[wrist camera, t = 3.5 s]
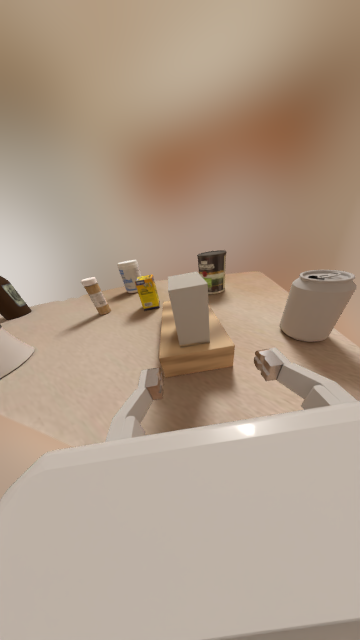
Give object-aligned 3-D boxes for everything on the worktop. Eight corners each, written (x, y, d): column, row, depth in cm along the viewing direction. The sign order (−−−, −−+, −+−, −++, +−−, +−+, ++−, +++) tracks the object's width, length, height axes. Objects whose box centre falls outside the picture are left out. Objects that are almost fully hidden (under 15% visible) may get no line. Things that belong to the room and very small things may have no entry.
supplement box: (160, 307, 48) (152, 277, 42) (143, 311, 48) (133, 281, 42) (159, 301, 53) (152, 274, 47) (145, 304, 53) (136, 277, 47)
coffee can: (217, 296, 49) (216, 254, 42) (195, 292, 56) (191, 256, 48) (229, 286, 55) (231, 249, 47) (208, 284, 61) (207, 251, 54)
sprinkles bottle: (109, 308, 55) (93, 276, 48) (112, 311, 52) (95, 277, 45) (98, 313, 53) (79, 279, 46) (100, 316, 49) (80, 281, 42)
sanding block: (209, 342, 22) (207, 283, 16) (180, 347, 22) (168, 290, 16) (200, 320, 28) (196, 271, 22) (177, 324, 28) (167, 276, 22)
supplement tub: (124, 294, 68) (112, 264, 61) (132, 288, 76) (122, 261, 69) (141, 292, 66) (131, 262, 59) (147, 286, 74) (139, 258, 67)
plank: (232, 366, 23) (234, 345, 20) (165, 377, 23) (158, 358, 20) (203, 309, 42) (202, 294, 39) (166, 316, 42) (163, 301, 39)
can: (275, 321, 31) (289, 269, 25) (315, 323, 29) (343, 266, 22) (283, 342, 26) (305, 282, 19) (335, 347, 23) (380, 279, 17)
